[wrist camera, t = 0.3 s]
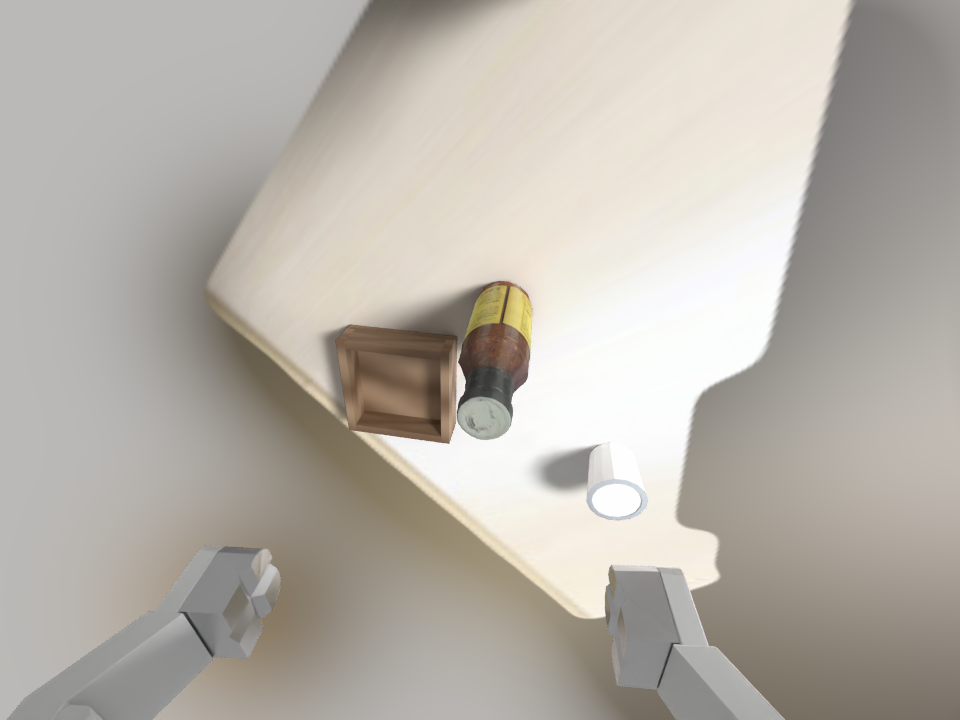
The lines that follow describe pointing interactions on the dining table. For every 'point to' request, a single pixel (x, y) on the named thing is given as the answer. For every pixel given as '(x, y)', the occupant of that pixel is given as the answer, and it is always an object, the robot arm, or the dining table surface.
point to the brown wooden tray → (399, 382)
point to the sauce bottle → (494, 359)
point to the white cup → (614, 483)
